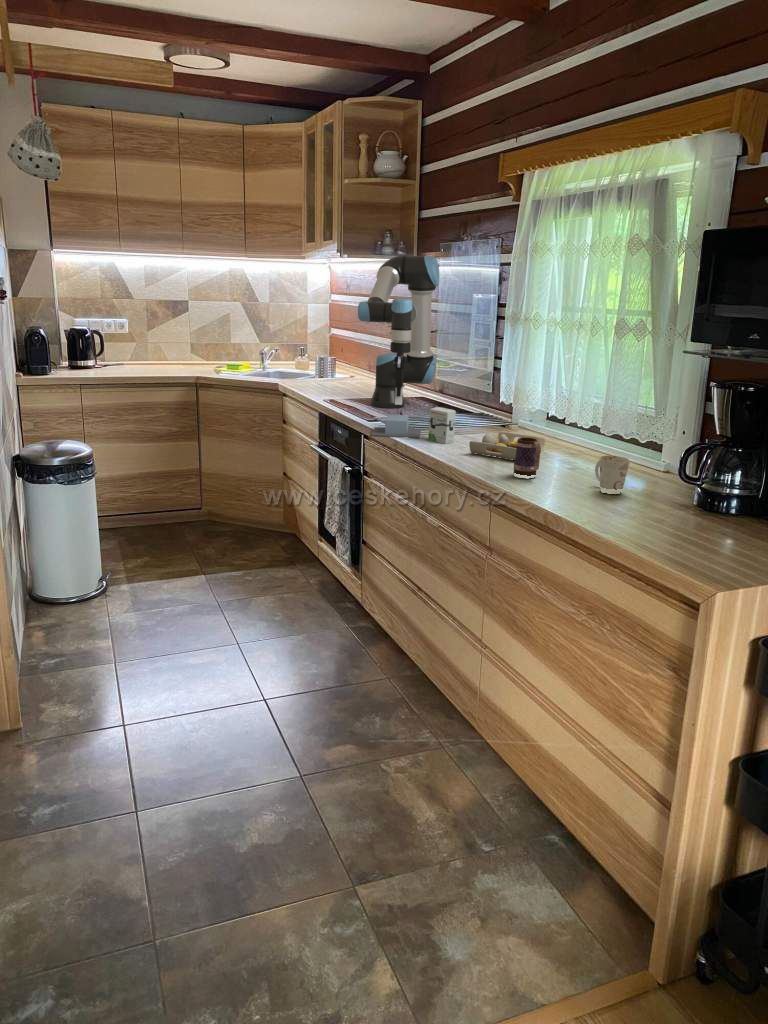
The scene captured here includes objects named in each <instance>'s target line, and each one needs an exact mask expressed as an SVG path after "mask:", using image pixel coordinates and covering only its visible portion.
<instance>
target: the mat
mask: <svg viewBox="0 0 768 1024" xmlns="http://www.w3.org/2000/svg"><path fill="white" fill-rule="evenodd" d="M421 433H422V429H417V428H408V431H407V434H406V435H404V434H385V427H378V426H377V427H376V426H375V427H374V428H373V430H372V431H371V434H370V436H371V437H380V438H382V437H383V438H402V437H408V438H407V439H420V437H421Z"/></svg>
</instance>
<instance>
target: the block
mask: <svg viewBox="0 0 768 1024" xmlns="http://www.w3.org/2000/svg"><path fill="white" fill-rule="evenodd" d="M409 418H410V417H409V415H408V414H404V415H403V414H387V416H386V419H385V425H384V426H385V427H384V428H385V434H404V435H406V434H407V431H408V429H409V420H410V419H409Z"/></svg>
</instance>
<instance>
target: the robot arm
mask: <svg viewBox="0 0 768 1024" xmlns="http://www.w3.org/2000/svg"><path fill="white" fill-rule="evenodd" d="M397 285H404V286H405V285H407V290H408V292H409V293H410V294H411V298H393V299H392V301H391V302H389V300H390V297H391V295H392V293H393V290H394V288H395V287H396V286H397ZM439 285H440V267H439V262H438V259H437V258H436V257H435V256H430V255H429V256H428V255H397V256H394V257H392V258H390V259H388V260H386V261H385V262H384V263H383V264H382V265H381V266H380V267H379V268H378V270H377V272H376V281H375V283H374V285H373V287H372V290H371V292H370V294H369V296H368V299H367V300H364V301H360V302H359V303H358V306H357V317H358V321H360V322H365V323H385V324H387V323H390V326H391V327H390V329H391V330H390V331H389V335H390V341H391V342H390V352H387V353H381V354H379V355H377V356H376V360H375V361H376V363H375V387H374V392H373V394H372V397H371V400H370V405H371V406H372V407H376V408H382V409H383V408H385V409H398V408H404V407H405V405H406V403H405V402H406V401H405V397H404V394H403V391H404V390H403V389H404V387H406V386H405V384H414V385H415V384H419V385H429V384H432V383H433V382H434V379H435V373H436V368H437V364H438V363H437V361H438V359H437V357H435V356H434V352H433V351H432V350H431V334H432V333H431V330H432V296H433V295H432V294H433V293H434V292H435V291H436V287H437V286H439ZM405 354H406V355H405ZM404 355H405V356H404Z"/></svg>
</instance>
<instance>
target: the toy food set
mask: <svg viewBox="0 0 768 1024" xmlns="http://www.w3.org/2000/svg"><path fill="white" fill-rule="evenodd" d="M516 437H517V438H534V439H537V442H539V443H540V444H541V453H542V452H543V451H544V449H545V446H546V441H547V439H546V438H545V437H542V436H536V435H530V434H525V433H517V432H511V431H510V432H509V431H505V430H502V431H499V432H498V436H497V439H496V441H495V438H494V436H493V435H492V433H491V432H490V433H489V432H488V433H485V434H484V435H483V437H482V438H481V439H482V440H481V441H476V440H471V441H469V444H468V445H469V451H470V453H471V454H472V453H477V454H476V455H478V454H484V455H490V456H496V457H501V458H507V459H513V460H515V456H516V448H517V441H518V439H515V438H516ZM514 439H515V440H514ZM484 455H483V456H484ZM501 458H500V459H501ZM507 459H506V460H507ZM513 460H512V461H513Z"/></svg>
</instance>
